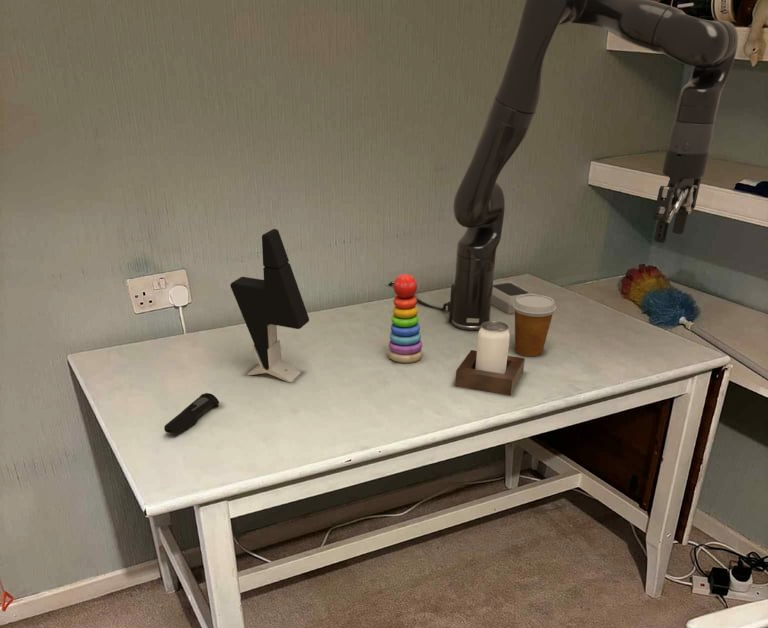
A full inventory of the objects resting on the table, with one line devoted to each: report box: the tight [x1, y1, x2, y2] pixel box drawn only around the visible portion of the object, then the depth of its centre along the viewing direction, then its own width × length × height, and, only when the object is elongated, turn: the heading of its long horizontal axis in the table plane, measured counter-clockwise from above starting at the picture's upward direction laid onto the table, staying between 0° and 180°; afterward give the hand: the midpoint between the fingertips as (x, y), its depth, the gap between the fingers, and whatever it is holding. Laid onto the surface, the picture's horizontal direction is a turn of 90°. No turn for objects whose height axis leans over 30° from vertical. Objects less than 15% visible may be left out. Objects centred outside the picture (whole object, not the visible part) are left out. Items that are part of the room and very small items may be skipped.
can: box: [475, 320, 510, 374], centre depth 162 cm, size 6×6×12 cm
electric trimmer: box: [163, 392, 220, 435], centre depth 148 cm, size 4×16×3 cm, turn 159°
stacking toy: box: [387, 273, 424, 364], centre depth 170 cm, size 8×8×19 cm
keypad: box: [491, 280, 534, 315], centre depth 205 cm, size 10×4×15 cm
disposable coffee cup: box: [513, 293, 557, 357], centre depth 175 cm, size 10×10×12 cm
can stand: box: [454, 349, 526, 396], centre depth 165 cm, size 12×12×4 cm
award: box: [230, 228, 310, 383], centre depth 158 cm, size 15×5×30 cm, turn 71°
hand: (668, 237), depth 152 cm, fingers open, 8 cm apart
